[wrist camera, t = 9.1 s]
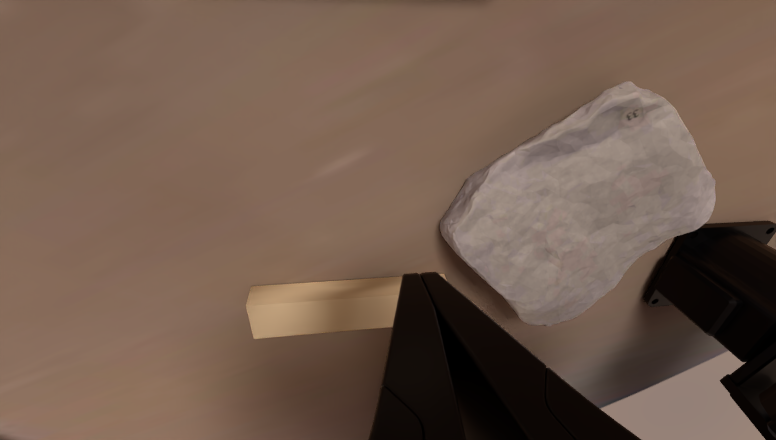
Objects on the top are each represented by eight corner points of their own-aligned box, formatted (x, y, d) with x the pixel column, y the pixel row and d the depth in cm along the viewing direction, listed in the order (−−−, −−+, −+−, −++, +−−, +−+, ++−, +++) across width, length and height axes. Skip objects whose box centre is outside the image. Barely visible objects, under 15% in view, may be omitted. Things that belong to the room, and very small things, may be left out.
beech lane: (505, -129, 12) (526, -145, 11) (439, 304, 22) (446, 322, 21) (151, -164, 10) (126, -188, 9) (258, 318, 21) (253, 338, 19)
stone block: (412, 208, 21) (519, 304, 23) (421, 244, 16) (552, 358, 19) (580, 44, 18) (681, 177, 20) (648, 33, 13) (766, 205, 16)
